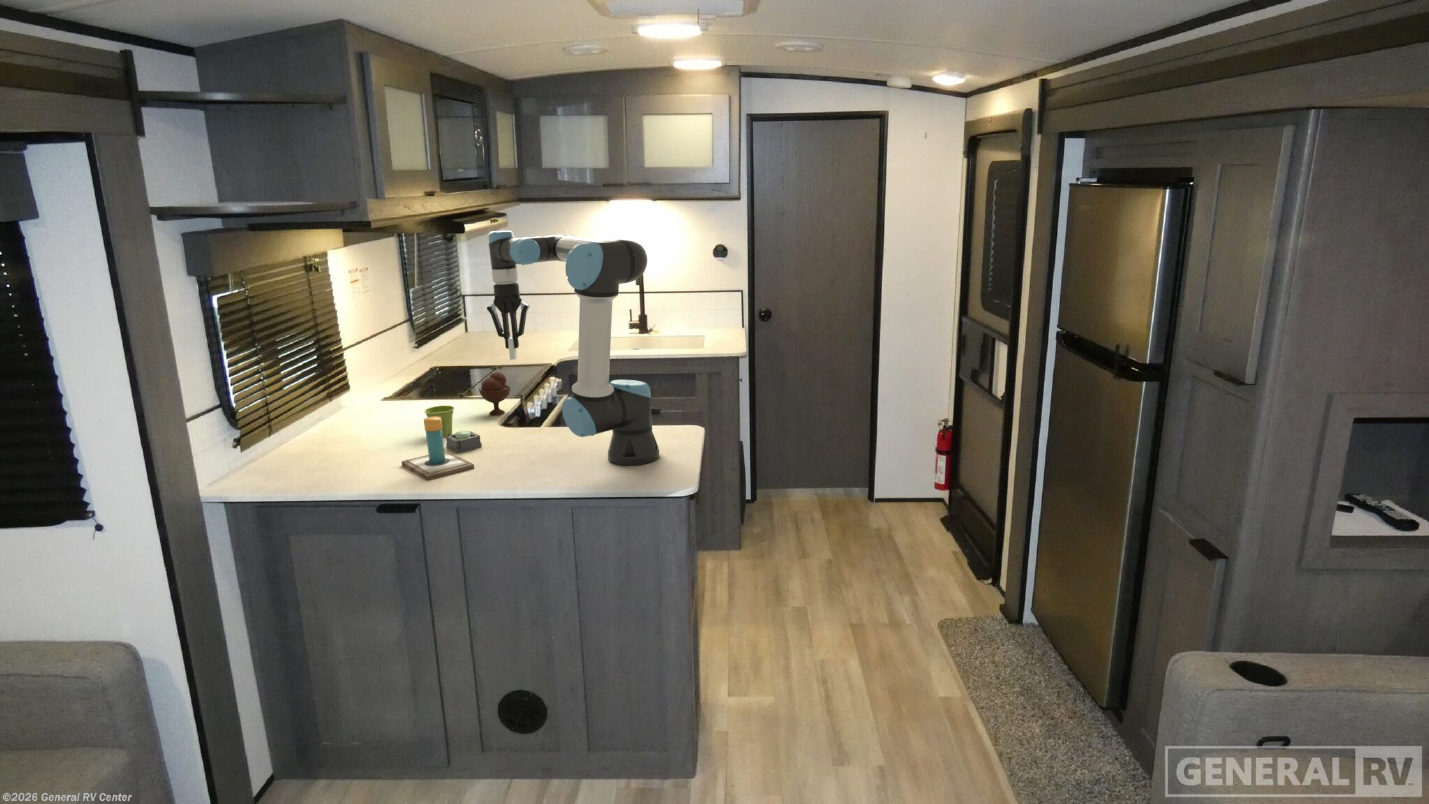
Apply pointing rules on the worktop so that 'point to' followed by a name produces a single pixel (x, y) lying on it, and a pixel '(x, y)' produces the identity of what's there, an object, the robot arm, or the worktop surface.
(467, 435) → the button
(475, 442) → the button housing
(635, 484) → the worktop surface
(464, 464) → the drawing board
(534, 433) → the worktop surface
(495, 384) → the ice cream bowl
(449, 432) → the plant pot
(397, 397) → the worktop surface
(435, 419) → the orange-topped post
